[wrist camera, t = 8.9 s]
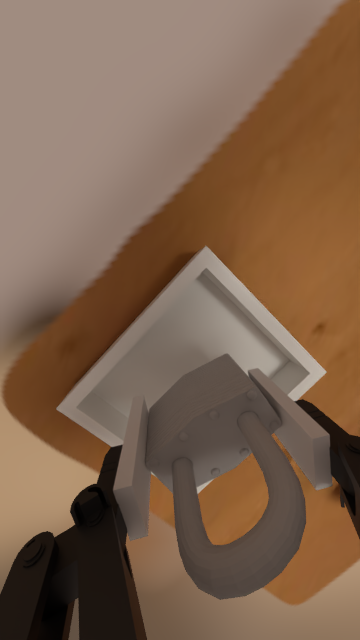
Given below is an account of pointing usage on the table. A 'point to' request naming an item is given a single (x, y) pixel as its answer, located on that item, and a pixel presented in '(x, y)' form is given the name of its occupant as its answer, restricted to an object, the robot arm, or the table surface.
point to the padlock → (216, 459)
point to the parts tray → (187, 348)
